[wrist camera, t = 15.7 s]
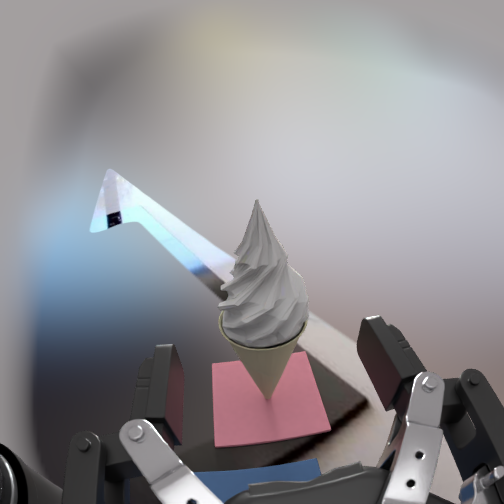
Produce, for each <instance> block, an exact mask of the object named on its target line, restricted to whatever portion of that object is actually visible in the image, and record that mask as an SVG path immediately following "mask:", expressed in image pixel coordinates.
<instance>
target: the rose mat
mask: <svg viewBox="0 0 504 504" xmlns="http://www.w3.org/2000/svg"><path fill="white" fill-rule="evenodd" d="M212 381H213V382H212V385H213V415H214V438H215V448H222V447H235V446H245V445H254V444H262V443H269V442H276V441H283V440H289V439H294V438H300V437H305V436H310V435H314V434H319V433H324V432H328V431H331V427H330V424H329V421H328V418H327V415H326V412H325V409H324V406H323V403H322V400H321V397H320V394H319V391H318V388H317V385H316V382H315V379H314V376H313V373H312V370H311V367H310V364H309V361H308V358H307V355H306V352H299V353H293V354H291V356H290V358H289V361H288V363H287V365H286V367H285V370H284V372H283V374H282V376H281V378H280V380H279V382H278V384H277V386H276V388H275V390H274V392H273V394H272V396H271V398H270V399H265V397H264V396H263V394H262V393H261V391H260V390H259V388H258V387H257V385H256V384H255V382H254V381H253V379H252V378H251V376H250V374H249V373H248V371H247V370H246V368H245V367H244V365H243V363H242V362H241V361H233V362H223V363H213V364H212Z"/></svg>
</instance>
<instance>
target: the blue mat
mask: <svg viewBox="0 0 504 504" xmlns="http://www.w3.org/2000/svg"><path fill="white" fill-rule="evenodd" d="M193 473H194V474H195V475H196V477H197V478H198V479H199V480H200V481H201V482H202V483H203V484H204V485H205V486H206V487H207V488H208V489H209V490H210V491H211V492H212V493H213V494H214V495H215V496H216V497H217V498H218V499H219V500H221V501H222V502H223V503H225V502H226V501H227V500H228V499H230V498H231V497H233V496H234V495H236V494H238V493H240V492H242V491H245V490H248V489H249V487H248V484H254V483H262V482H270V481H277V480H278V481H310V480H312V479H314V478H316V477H318V476H321V472H320V468H319V465H318V461H317V458H315V459H310V460H305V461H300V462H295V463H289V464H283V465H277V466H270V467H263V468H254V469H245V470H234V471H219V472H193Z"/></svg>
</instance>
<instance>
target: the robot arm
mask: <svg viewBox="0 0 504 504" xmlns="http://www.w3.org/2000/svg"><path fill="white" fill-rule="evenodd" d="M357 352H358V355H359V357H360V359H361V361H362V363H363V365H364V367H365V369H366V371H367V373H368V375H369V377H370V379H371V381H372V383H373V386H374V388H375V390H376V392H377V394H378V396H379V398H380V400H381V402H382V404H383V406H384V408H385V411H389V410H392V409H395V411H396V415H395V418H394V421H393V424H392V428H391V431H390V434H389V437H388V440H387V443H386V446H385V449H384V451H383V454H382V456H381V457H380V459H379V461H378V463H377V466H376V467H369V466H362V464H361V462H360V461H359V462H356V463H352V464H349V465H346V466H342V467H338V468H335V469H333V470H331V471H329V472H327V473H325V474H323V475H321V476H318V477H316V478H314V479H312V480H310V481H278V480H277V481H270V482H262V483H254V484H248V487H249V489H248V490H245V491H242V492H240V493H238V494H236V495H234V496H233V497H231V498H230V499H228V500H227V501H226V502H225V503H223V502H222V501H221V500H219V499H218V498H217V497H216V496H215V495H214V494H213V493H212V492H211V491H210V490H209V489H208V488H207V487H206V486H205V485H204V484H203V483H202V482H201V481H200V480H199V479H198V478H197V477H196V475H195V474H194V473H193V472H192V471H191V470H190V469H189V468H188V467H187V466H186V465H185V464H184V463H183V462H182V461H181V460H180V459H179V458H178V456H177V455H176V454H175V453H174V445H182V422H183V395H184V372H183V368H182V364H181V362H180V359H179V356H178V353H177V350H176V347H175V345H174V344H168V345H156V347H155V352H154V358H146V359H145V360H144V361H143V363H142V364H141V366H140V368H139V372H138V380H137V382H136V388H135V393H134V399H133V404H132V411H131V416H130V420H129V422H127V423H126V424H125V425H124V426H123V427H122V428H121V430H120V431H118V432H116V433H112V434H108V435H103V436H99V437H98V436H97V435H96V434H94V433H93V432H90V431H81V432H78V433H77V434H75V435H74V436H73V437H72V439H71V441H70V444H69V449H68V455H67V462H66V469H65V476H64V484H63V494H62V504H130V478H134V477H139V476H144V477H145V478H146V480H147V481H148V483H149V486H150V488H151V489H152V491H153V492H154V493H155V495H156V496H157V497H158V498H159V500H160V501H161V502H162V503H163V504H454V503H452V502H450V501H448V500H445V499H443V498H441V497H439V496H437V495H434V494H432V493H430V492H429V491H430V488H431V484H432V481H433V477H434V473H435V469H436V465H437V461H438V457H439V452H440V447H441V442H442V437H443V434H444V437H445V439H446V441H447V443H448V446H449V448H450V450H451V453H452V455H453V457H454V460H455V462H456V465H457V467H458V470H459V472H460V475H461V477H462V480H463V484H462V486H461V489H460V494H459V499H460V501H461V504H504V407H503V406H502V404H501V402H500V401H499V399H498V397H497V396H496V394H495V392H494V391H493V389H492V388H491V386H490V384H489V383H488V381H487V379H486V378H485V376H484V375H483V374H482V373H481V372H480V371H478V370H476V369H467V370H465V371H464V372H463V373H462V374H461V376H460V377H459V378H452V379H442V378H441V377H440V376H439V375H437V374H435V373H433V372H427V370H426V369H425V367H424V366H423V364H422V363H421V361H420V360H419V358H418V357H417V355H416V354H415V352H414V351H413V349H412V348H411V347H410V345H409V343H408V342H407V340H405V337H404V336H403V334H402V333H401V331H400V330H398V329H397V328H396V327H394V326H393V325H391V324H389V325H386V323H385V322H384V320H383V319H382V317H381V316H379V315H378V316H373V317H369V318H364V319H363V320H362V322H361V327H360V331H359V336H358V340H357ZM467 412H468V414H469V416H470V417H469V416H468V414H467ZM470 418H471V419H470ZM471 420H472V421H471ZM472 422H473V423H472ZM473 424H474V425H473ZM474 426H475V427H474ZM17 501H18V488H17V482H16V478H15V475H14V472H13V470H12V468H11V466H10V464H9V463H8V461H7V460H6V459H5V458H4V457H3V456H2V455H1V454H0V504H17Z"/></svg>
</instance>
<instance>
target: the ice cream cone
mask: <svg viewBox="0 0 504 504" xmlns="http://www.w3.org/2000/svg"><path fill="white" fill-rule="evenodd" d="M234 254H236V255H237V256H239V257H238V259H237V260H236V261H235V266H234V269H233V270H232V271H231V272H230V274H232V275H233V277H234V278H233V280H231V281H229V282H227V283H225V284H223V285H221V290H226V291H227V292H228V298H227V300H226V301H224V302H222V303H220V304H219V306H218V308H219V309H220V310H222V312H221V314H220V317H219V328H220V331H221V333H222V334H223V336H224V337H225V338H226V339H227V340H228V341H229V342H230V344H231V345H232V347H233V349H234V351H235V352H236V354H237V355H238V357H239V359H240V360H241V362H242V363H243V365H244V367H245V368H246V370H247V371H248V373H249V374H250V376H251V378H252V379H253V381H254V382H255V384H256V385H257V387H258V388H259V390H260V391H261V393H262V394H263V396H264V397H265V399H270V398H271V396H272V394H273V392H274V390H275V388H276V386H277V384H278V382H279V380H280V378H281V376H282V374H283V372H284V370H285V367H286V365H287V363H288V361H289V358H290V356H291V354H292V352H293V350H294V348H295V345H296V343H297V341H298V339H299V337H300V336H301V334H302V333H303V332H304V330H305V328H306V326H307V321H308V316H309V310H308V301H309V299H308V295H307V291H306V287H305V283H304V280H303V278H302V276H301V275H299V274H298V273H297V272H296V271H295V270H294V269H293V268H291V267H290V266H289V265H288V262H287V258H288V254H287V253H286V252H285V250H284V247H283V246H282V245H281V244H280V242H279V241H278V239H277V238H276V236H275V235H274V233H273V231H272V228H271V227H270V224H269V223H268V220H267V218H266V217H265V214H264V212H263V211H262V208H261V206H260V204H259V201H258V200H256V201H255V204H254V208H253V212H252V215H251V218H250V221H249V224H248V227H247V229H246V232H245V235H244V238H243V241H242V242H241V244H240V245H239V246H238V248H237V249H236V250H235V252H234Z"/></svg>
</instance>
